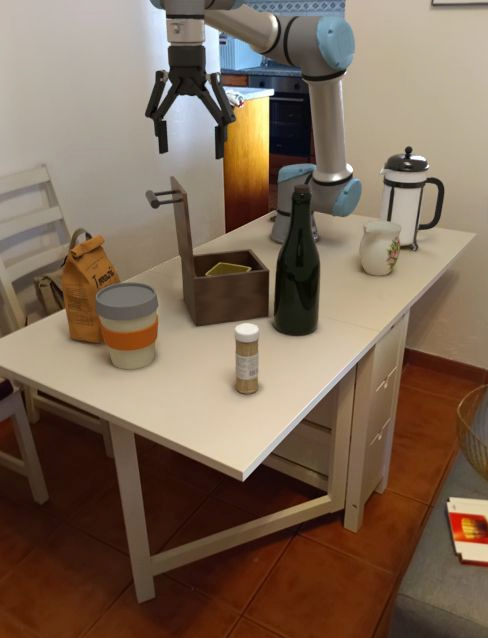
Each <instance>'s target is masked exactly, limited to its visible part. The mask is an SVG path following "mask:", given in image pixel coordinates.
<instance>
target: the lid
mask: <svg viewBox="0 0 488 638" xmlns="http://www.w3.org/2000/svg"><path fill="white" fill-rule="evenodd" d="M169 179H170V180H169V181H170V182H169V183H170V190H163V191H156V192H154V191H153V190H151V189H148V190H147V191H146V192H145V194H144V195H145V198H146V200H147V201H148V203H149V206H150V207H151V208H152V209H155V210H156V209H157V210H158V209H159V207H160V206H163V205H169V204H170V205H171V204H172V206H173V215H174V224H175V230H176V232H175V233H176V240H177V248H178V249H177V250H178V255H179V258H180V260H181V259H182V261H183V262H184V264H185V266H186V268H187V270H188V272H189V273H190V275H191V277H196V276H195V267H194V257H193V255H194V249H193V239H192V229H191V220H190V211H189V201H188V200H189V199H188V192H186V190H185V188H184V187H183V186H182V184H180V182H179V181H178V179H177V178H176V177H175V176H174V175H172V176H171V175H170V176H169ZM168 195H169V196H170V195H171V197H172V198H171V199H165V200H159V199H158V197H161V196H168Z"/></svg>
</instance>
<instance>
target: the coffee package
mask: <svg viewBox="0 0 488 638" xmlns="http://www.w3.org/2000/svg"><path fill="white" fill-rule="evenodd" d="M105 242H106V241H105V239H104V237H103V235H102V234H98V235H97V236H94V237H91V238H90V239H87V240H84V241H82V242H80V243H78V244H77V245H75V246H74V247H73V248H72V249H70V250H69V251H68V254H67V257H66V258H65V259H66V260H65V264H64V266H63V269H62V273H61V285H62V286H61V287H62V295H63V296H62V297H63V304H64V309H65V314H66V319H67V324H68V329H69V335H70V338H71V339H72V340H77V341H78V340H82V341H86V342H88V343H102V342H103V341H104V339H103V335H102V332H101V328H100V325H99V320H100V317H99V314H98V313H97V312H96V294H97V293H98V292H99V291H100V290H101V289H103V288H105V287H107V286H110V285H114V284H118V283H121V280H120V276H119V274H118V272H117V270H116V268H115V267H114V264H113V263H112V261H111V260H110V259H109V258H108V256H107V253H106V251H105V250H104V247H103V246H102V245H104V243H105Z"/></svg>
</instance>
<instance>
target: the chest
mask: <svg viewBox="0 0 488 638" xmlns="http://www.w3.org/2000/svg"><path fill="white" fill-rule="evenodd" d="M193 257H194V267H195V276H196V277H191V275H190V273H189V272H188V270H187V268H186V266H185V264H184V262H183V261H182V259H181V258H180V263H181V265H180V266H181V278H182V279H181V281H182V292H183V293H182V296H183V297H182V298H183V299H182V300H183V302H184V304H185V306H186V308H187V311H188V313H189V314H190V317H191V319H192V321H193V323H194V325H195V327H201V326H209V325H217V324H223V323H231V322H239V321H245V320H252V319H253V320H254V319H261V318H267V317H269V316H270V315H269V313H270V312H269V311H270V271H271V270H270V269H269V268H268V267H267V266H266V265H265V263H264V262H263V261H262V260H261V259H260V258H259V257H258V255H257V254H256V253H255V252H254V250H253V249H251V248H247V249H238V250H236V249H235V250H227V251H226V250H225V251H217V252H208V253H200V254H199V253H198V254H193ZM218 263H227V264H234V265H240V266H246V267H250V268H251V271H247V272H239V273H230V274H221V275H213V276H205V274H206V273H207V272H208V271H210V270H211V269H212V268H213V267H214V266H216V265H217V264H218Z"/></svg>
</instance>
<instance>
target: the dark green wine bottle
mask: <svg viewBox="0 0 488 638" xmlns="http://www.w3.org/2000/svg"><path fill="white" fill-rule="evenodd" d="M311 201H312V192H311V191H310V186H309V185H306V184H297V185H295V186H294V191H292V194H291V215H290V223H289V228H288V231H287V234H286V237H285V239H284V242H283V244H281V246H280V249H279V252H278V254H277V258H276V263H275V265H276V266H275V274H274V275H275V277H274V293H273V295H274V296H273V326H274V327H275V329H277V331H279V332H281V333H283V334H287V335H291V336H302V335H307V334H310V333H312V332H314V331H315V330H316V329H318V328H317V327H318V326H319V314H320V295H321V257H320V252H319V248H318V246H317V243H316V242H315V240H314V236H313V232H312V226H311Z"/></svg>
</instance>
